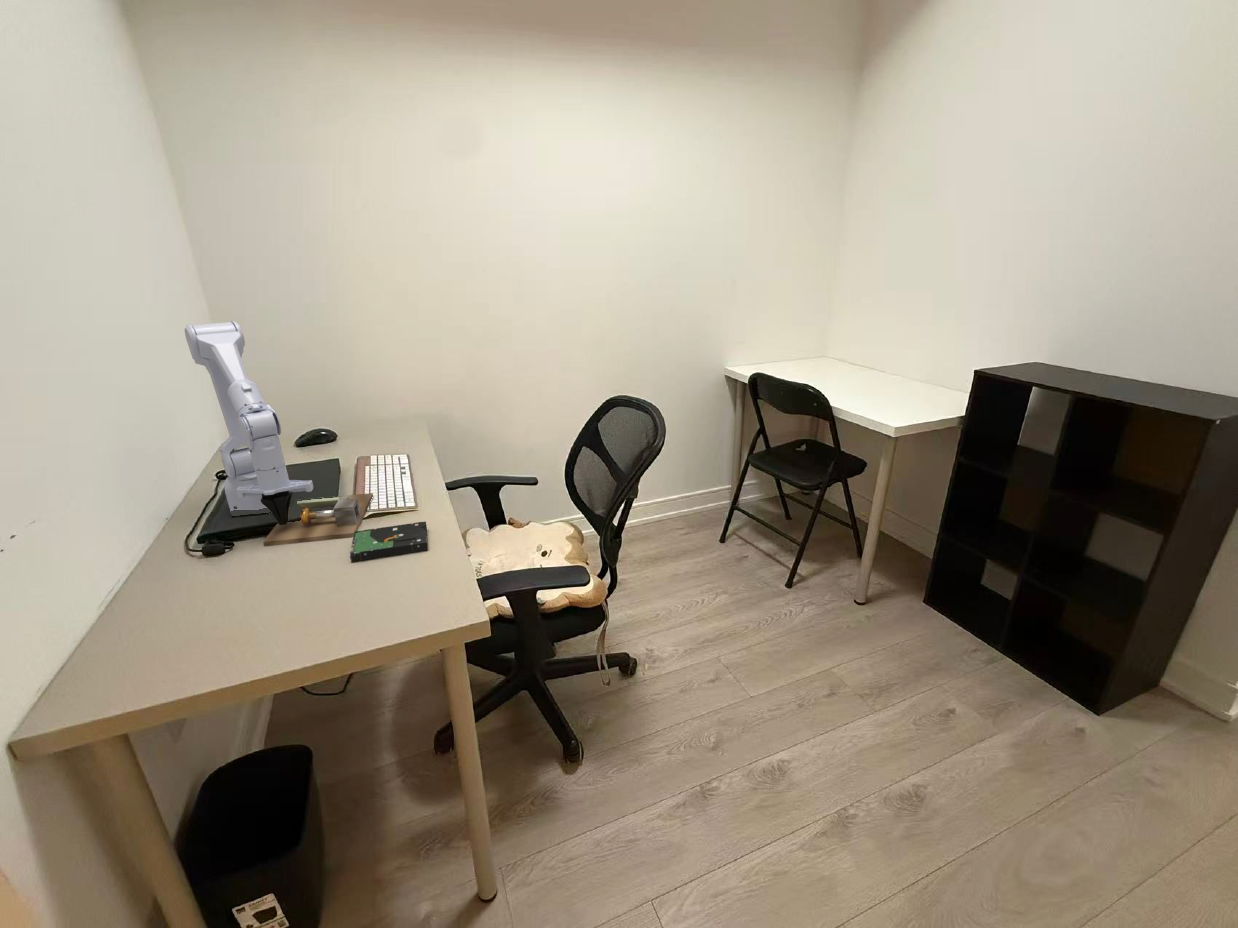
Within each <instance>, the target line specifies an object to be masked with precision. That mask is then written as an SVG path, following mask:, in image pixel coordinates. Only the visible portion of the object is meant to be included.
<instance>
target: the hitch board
mask: <svg viewBox="0 0 1238 928" xmlns="http://www.w3.org/2000/svg"><path fill="white" fill-rule="evenodd" d="M336 496H337V497H340V498H341V499H342V500H338V502H337V503H336V505H335V507H334V508H333V510H334V514H335V517H333V518H322V519H312V520H311V523H308V524H303V523H302V521H301V520H300V521H295V522H288V523H287V524H286V525H279V524H277V523H276V525H275V526H274V527H273V528H272V529H271V531H270V532H269V533H268V535H267V536H266V538H265V539H264V540H263V542H262V543H263V546H264V547H268V546H278V545H288V544H299V543H308V542H316V541H317V542H319V541H326V540H337V539H346V538H347V539H348V538H353V536H354V532H356V531H359V528H360V526H361V524H362V521H363V520H364V518H365V515H366V513H367V511H368V509H369V507H370V505H369V503H370V501H371V502H372V500H373V498H374V493H372V492H370V493H361V494H347V495H336ZM332 497H333V498H336V497H335V496H332ZM372 497H373V498H372ZM321 498H322V499H324V497H321ZM310 499H311V500H313V498H310ZM371 499H372V500H371ZM370 504H371V503H370ZM368 506H369V507H368ZM367 508H368V509H367Z"/></svg>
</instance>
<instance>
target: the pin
mask: <svg viewBox="0 0 1238 928" xmlns="http://www.w3.org/2000/svg"><path fill="white" fill-rule="evenodd" d="M300 517H301V521H302V523H303V524H308V523H311V520H312V519H322V518H333V517H335V514H334V510H322V511H311V510H310V509H309V508H305V509H302V510H301V514H300Z"/></svg>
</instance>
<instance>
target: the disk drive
mask: <svg viewBox="0 0 1238 928" xmlns="http://www.w3.org/2000/svg"><path fill="white" fill-rule="evenodd" d="M428 549H429V547H428V527H427V522H426V521H418V522H412V523H406V524H405V523H404V524H397V525H393V526H392V525H390V526H383V527H376V528H371V529H370V528H369V529H363V530H357V531H356V532H354V536H353V537H352V540H351V545H350V551H349V558H350V562H351V564H354V563H360V562H368V561H373V560H380V559H384V558H390V557H391V558H392V557H399V556H406V555H410V554H418V553H422V552H428Z"/></svg>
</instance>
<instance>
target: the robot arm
mask: <svg viewBox="0 0 1238 928" xmlns="http://www.w3.org/2000/svg"><path fill="white" fill-rule="evenodd" d="M184 335H185V339H186V342H187V345H188V349H189V352H190V354H191V357H192V359H193V360H194V363H195V364H196V365H200V366H204V367H205V369H206V371H207V372H208V374H209V375H210V379H211V383H212V384H213V388H214V391H215V394H216V397H217V400H218V404H219V407H220V410H221V413H222V416H223V419H224V422H225V424H226V429H227V431H228V435H229V436H228V437H227V439H226V440H224V442H222V444H221V445H220V447H219V452H220V453H219V454H220V458H221V463H222V466H223V469H224V471H225V474H226V475H227V477H226V479H225V481H224V493H225V498H226V500H227V504H228V507H229V510H230V512H231V511H233V510H259V509H263V508H268V509H269V510H270V511H271V513H270V514H272V515H273V517H274V518H275V520H276V522H277V523H278V524H279V525H286V524H287V523H288V521H289V508H290V506H291V500H292V497H293V494H294V493H297V492H306V493H311V492H312V491H313V490H314V483H313V480H311V479H309V480H301V479H300V480H299V479H298V480H297V479H289V474H288V470H287V466H286V461H285V457H284V452H283V449H282V444H281V441H280V440H281V439H280V435H281V434H282V426H281V423H280V420H279V417H278V415H277V413H276V411H275V410H274V409H273V408H272V406H271V405H270V404H268V403H267V402H266V399H265V398H264V396H263V394H262V391H261V389H260V387H259V385H258V384H257V383H256V382H254V381H252V380H250V379H249V377H248V375H247V372H246V369H245V366H244V362H243V360H242V357H243V353H244V349H245V345H246V344H245V343H246V341H245V336H244V333H243V330H242V327H241V326H240V324H239V323H238V322H236V321H234V320H232V321H228V322H217V323H216V322H215V323H204V324H193V325H192V324H187V325H185V328H184ZM242 447H245V448H242ZM238 448H239V449H238ZM234 449H235V450H234ZM235 507H237V508H235Z"/></svg>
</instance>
